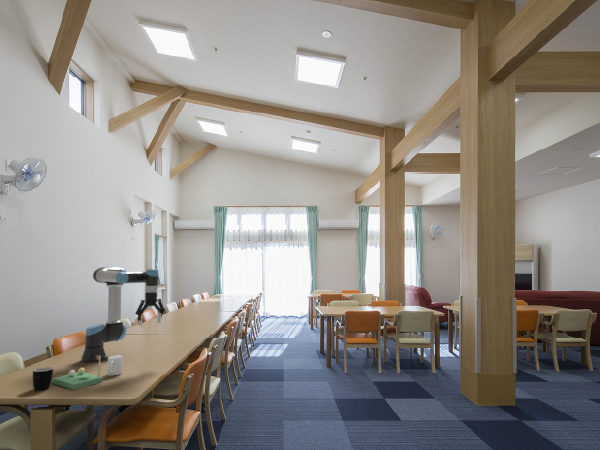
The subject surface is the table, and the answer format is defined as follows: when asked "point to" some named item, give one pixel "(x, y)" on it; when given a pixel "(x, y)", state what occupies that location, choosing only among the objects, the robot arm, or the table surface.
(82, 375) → the green
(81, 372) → the yellow ball
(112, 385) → the table surface
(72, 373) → the ball
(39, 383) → the mug
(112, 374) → the cup
